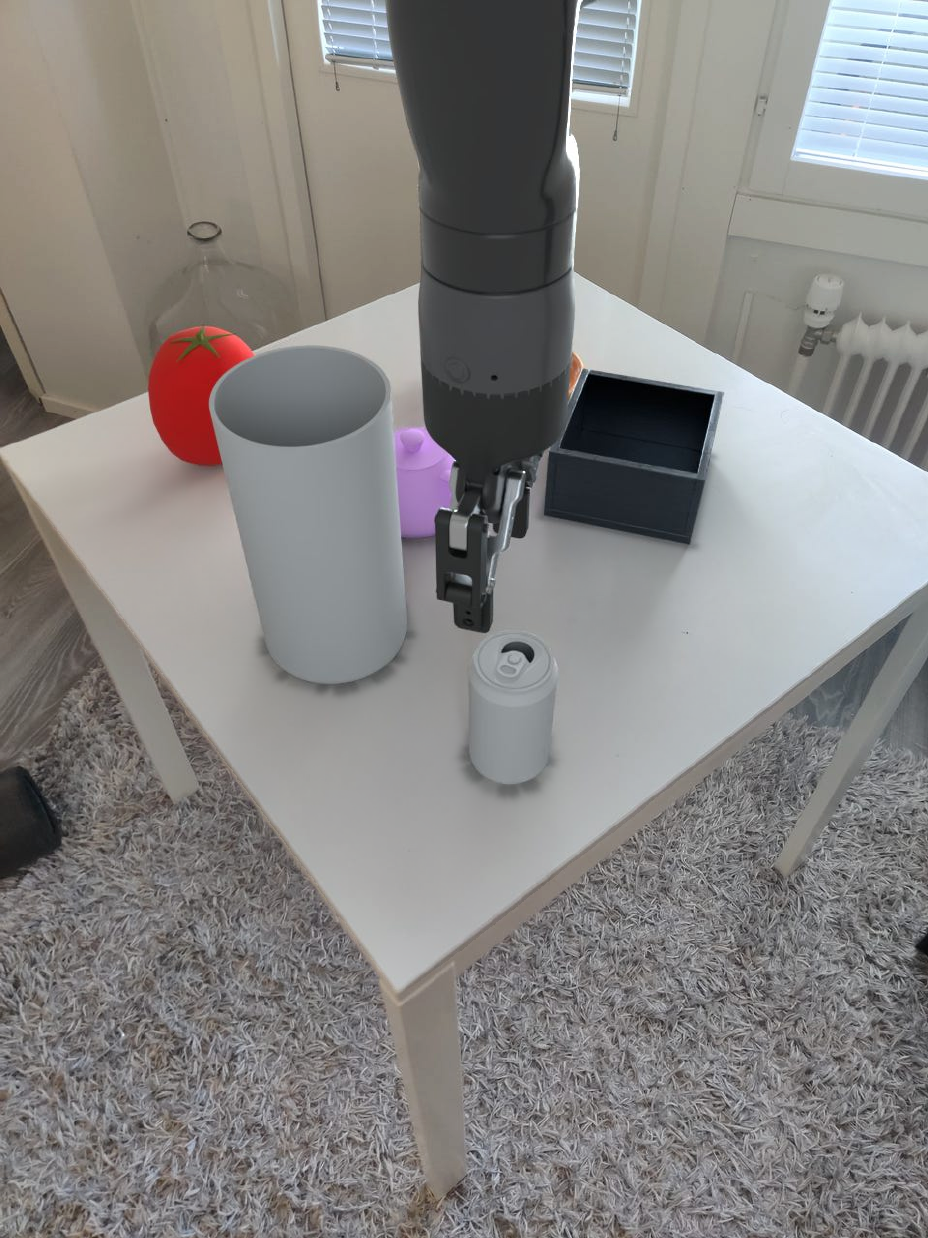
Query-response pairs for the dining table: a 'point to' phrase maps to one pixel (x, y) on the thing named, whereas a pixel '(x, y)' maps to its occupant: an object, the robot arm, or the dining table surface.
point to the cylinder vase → (316, 506)
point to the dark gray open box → (633, 455)
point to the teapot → (420, 481)
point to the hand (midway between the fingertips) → (492, 577)
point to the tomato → (191, 389)
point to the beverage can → (511, 706)
